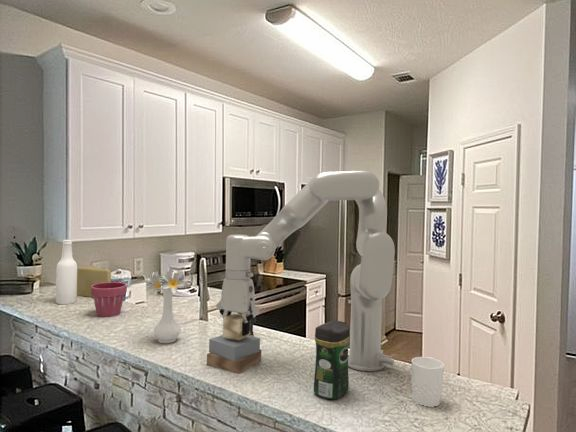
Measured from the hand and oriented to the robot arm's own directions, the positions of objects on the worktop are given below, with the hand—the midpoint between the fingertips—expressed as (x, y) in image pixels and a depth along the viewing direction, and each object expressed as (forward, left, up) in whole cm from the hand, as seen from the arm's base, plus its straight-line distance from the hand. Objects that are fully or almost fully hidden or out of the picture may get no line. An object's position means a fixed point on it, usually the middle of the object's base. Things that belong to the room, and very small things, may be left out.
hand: (236, 332), depth 127 cm
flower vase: (+33, -4, -10) cm, 35 cm away
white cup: (-56, -4, -10) cm, 57 cm away
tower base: (0, 0, -10) cm, 10 cm away
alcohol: (+111, -20, -10) cm, 113 cm away
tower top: (0, 0, -6) cm, 6 cm away
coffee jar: (-33, +4, -10) cm, 35 cm away
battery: (+9, -20, -10) cm, 24 cm away
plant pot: (+78, -17, -10) cm, 80 cm away
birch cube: (0, 0, -1) cm, 1 cm away
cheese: (+110, -36, -10) cm, 116 cm away
